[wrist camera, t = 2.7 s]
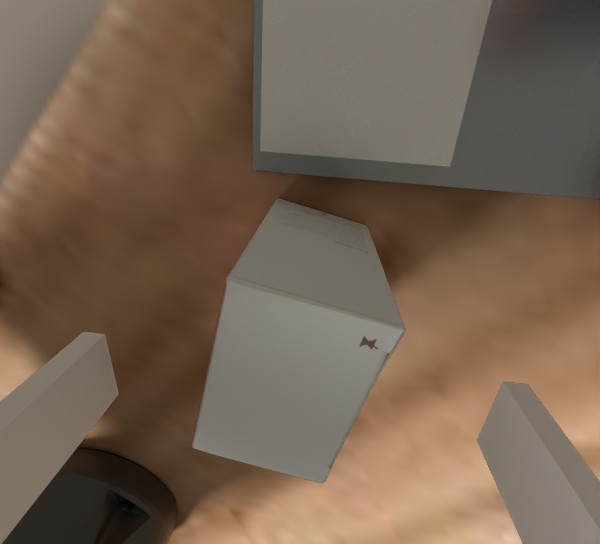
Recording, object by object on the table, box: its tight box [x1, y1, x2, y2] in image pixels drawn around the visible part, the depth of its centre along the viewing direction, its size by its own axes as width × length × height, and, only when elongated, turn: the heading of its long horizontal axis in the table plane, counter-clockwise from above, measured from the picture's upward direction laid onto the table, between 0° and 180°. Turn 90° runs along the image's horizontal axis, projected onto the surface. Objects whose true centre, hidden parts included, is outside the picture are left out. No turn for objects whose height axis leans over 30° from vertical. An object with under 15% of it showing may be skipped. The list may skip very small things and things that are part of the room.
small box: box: [191, 198, 405, 483], centre depth 16 cm, size 8×6×10 cm
